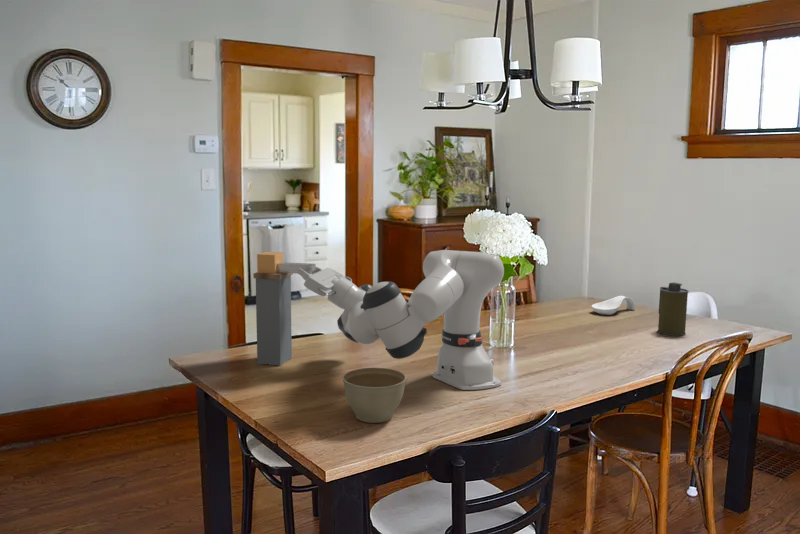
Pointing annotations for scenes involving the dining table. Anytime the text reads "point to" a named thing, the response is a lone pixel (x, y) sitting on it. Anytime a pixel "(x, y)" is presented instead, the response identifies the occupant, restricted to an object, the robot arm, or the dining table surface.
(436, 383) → the dining table surface
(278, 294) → the cabinet stand
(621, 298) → the spoon rest
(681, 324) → the canister
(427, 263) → the robot arm
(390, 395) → the planter bowl
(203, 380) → the dining table surface
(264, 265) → the bar
